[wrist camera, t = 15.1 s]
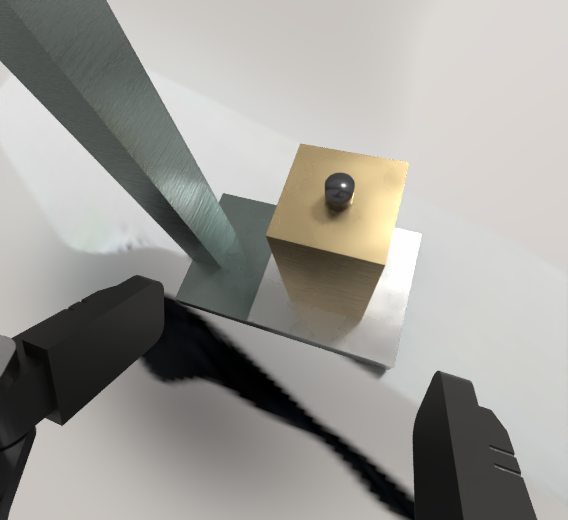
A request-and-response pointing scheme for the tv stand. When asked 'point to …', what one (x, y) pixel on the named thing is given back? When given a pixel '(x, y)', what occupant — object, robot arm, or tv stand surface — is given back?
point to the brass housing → (335, 227)
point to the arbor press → (183, 180)
